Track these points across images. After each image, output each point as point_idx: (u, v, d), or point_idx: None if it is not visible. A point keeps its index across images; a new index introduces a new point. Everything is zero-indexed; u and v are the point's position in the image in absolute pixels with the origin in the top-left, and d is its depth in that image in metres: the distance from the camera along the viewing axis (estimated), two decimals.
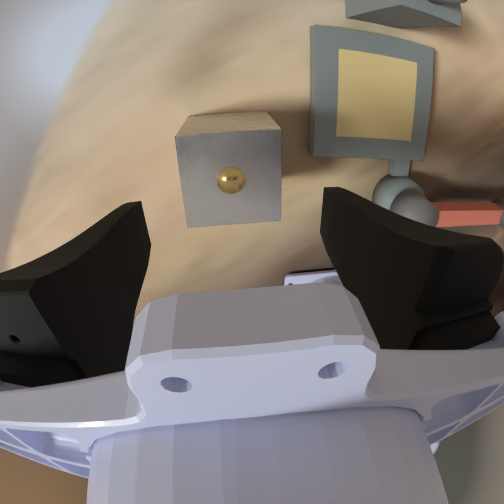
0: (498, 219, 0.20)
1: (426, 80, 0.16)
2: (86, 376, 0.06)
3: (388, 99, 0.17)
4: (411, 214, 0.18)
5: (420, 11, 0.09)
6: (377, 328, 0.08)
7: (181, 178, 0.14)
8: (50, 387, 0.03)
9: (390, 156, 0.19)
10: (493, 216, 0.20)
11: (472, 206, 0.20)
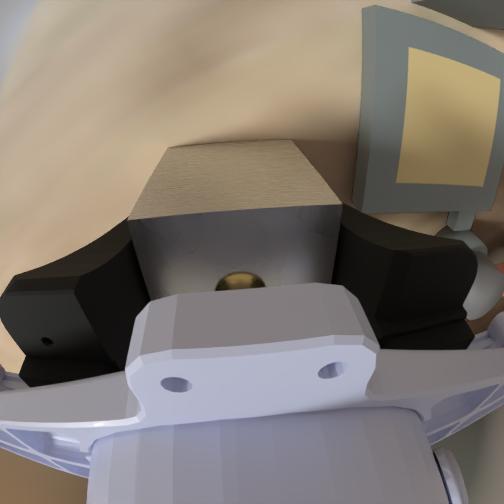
0: None
1: None
2: None
3: (466, 129, 0.10)
4: (479, 292, 0.12)
5: None
6: None
7: (149, 290, 0.08)
8: (50, 387, 0.03)
9: (457, 208, 0.13)
10: None
11: None
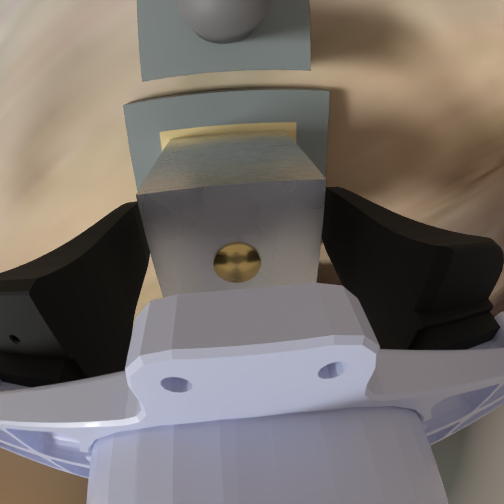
0: None
1: (315, 146, 0.13)
2: (86, 376, 0.06)
3: None
4: None
5: None
6: (377, 328, 0.08)
7: (154, 260, 0.09)
8: (50, 387, 0.03)
9: None
10: None
11: None
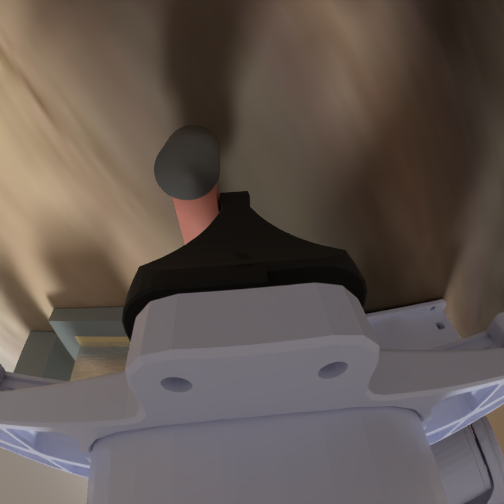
0: (201, 200, 0.10)
1: (83, 327, 0.17)
2: None
3: None
4: None
5: None
6: None
7: None
8: (50, 387, 0.03)
9: None
10: (197, 227, 0.10)
11: None
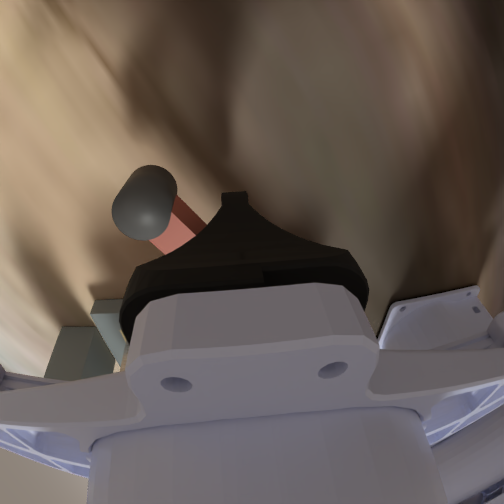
0: (171, 229, 0.10)
1: None
2: None
3: None
4: None
5: None
6: None
7: None
8: (50, 387, 0.03)
9: None
10: None
11: None
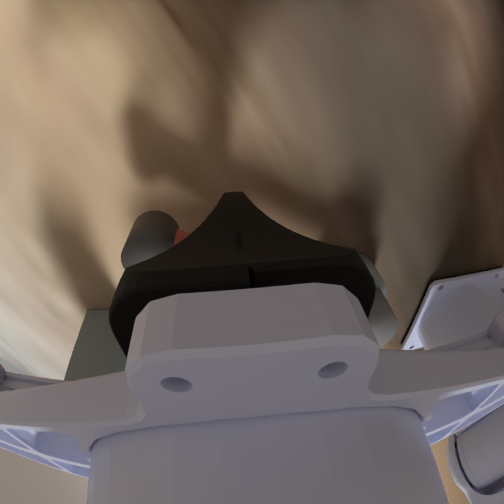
0: None
1: None
2: None
3: None
4: None
5: None
6: None
7: None
8: (50, 387, 0.03)
9: None
10: None
11: None
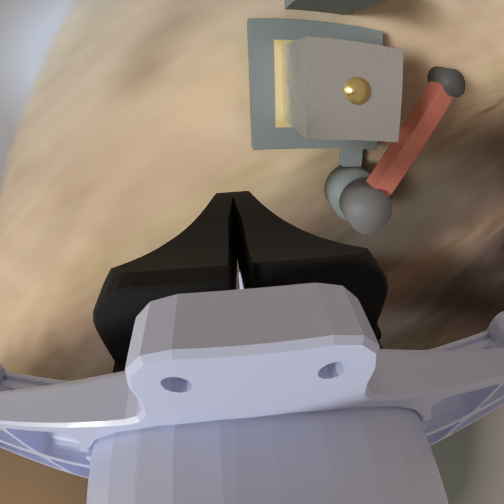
0: (447, 97, 0.15)
1: None
2: None
3: None
4: (355, 222, 0.19)
5: None
6: None
7: (307, 80, 0.12)
8: (50, 387, 0.03)
9: (338, 145, 0.20)
10: (438, 105, 0.15)
11: (408, 127, 0.17)
